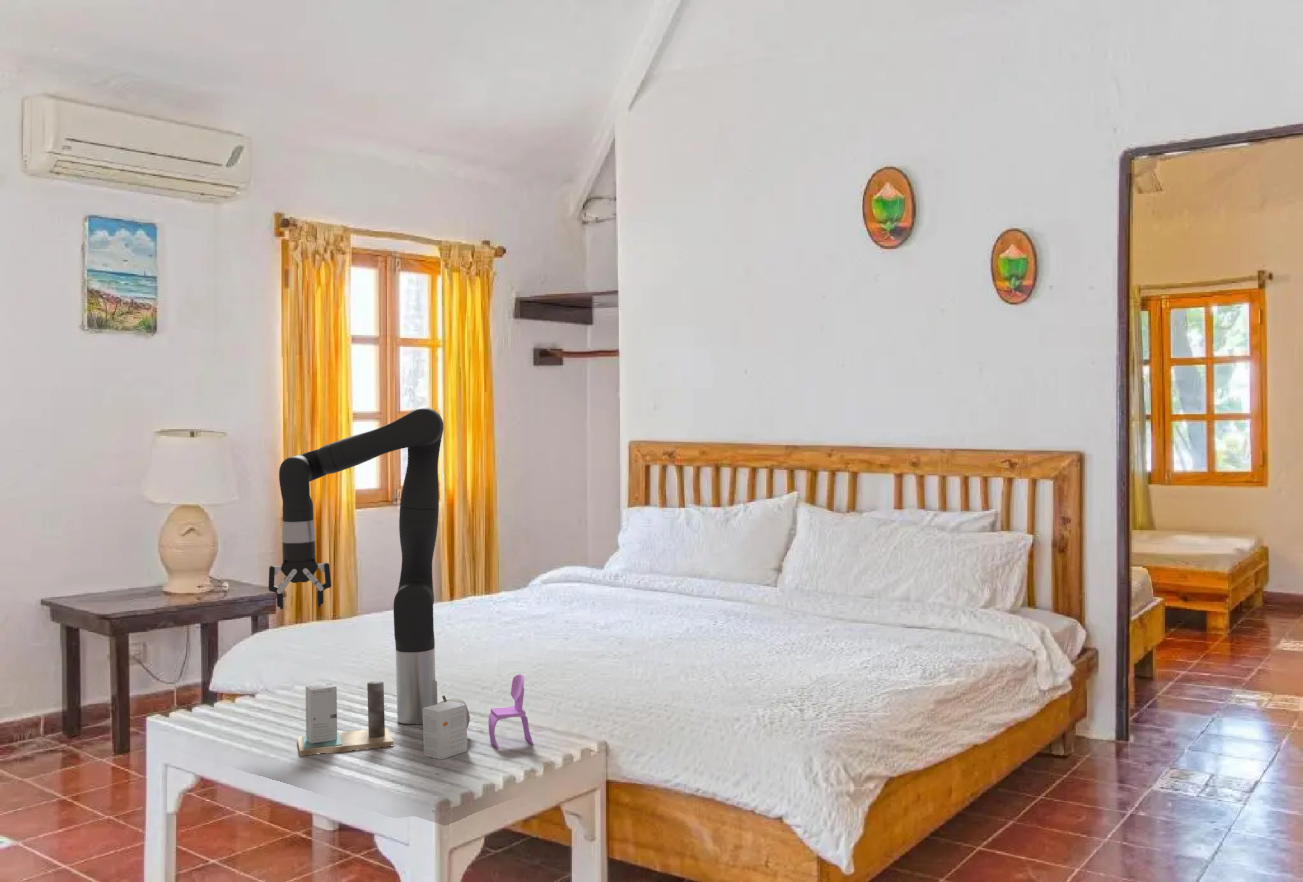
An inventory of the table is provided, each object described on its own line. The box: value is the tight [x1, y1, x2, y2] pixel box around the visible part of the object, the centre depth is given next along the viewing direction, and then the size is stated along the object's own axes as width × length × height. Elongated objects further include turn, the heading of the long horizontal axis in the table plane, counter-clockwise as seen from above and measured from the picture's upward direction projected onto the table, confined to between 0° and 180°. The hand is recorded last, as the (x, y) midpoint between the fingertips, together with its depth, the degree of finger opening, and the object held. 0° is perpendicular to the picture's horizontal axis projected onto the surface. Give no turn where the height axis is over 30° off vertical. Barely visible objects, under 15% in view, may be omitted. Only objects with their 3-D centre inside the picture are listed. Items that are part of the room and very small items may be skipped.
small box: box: [422, 701, 468, 761], centre depth 263 cm, size 8×6×10 cm
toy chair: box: [488, 674, 534, 749], centre depth 271 cm, size 8×9×15 cm
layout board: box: [297, 680, 394, 757], centre depth 272 cm, size 20×12×13 cm, turn 109°
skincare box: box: [305, 683, 338, 744], centre depth 271 cm, size 6×4×12 cm
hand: (300, 607), depth 289 cm, fingers open, 8 cm apart
